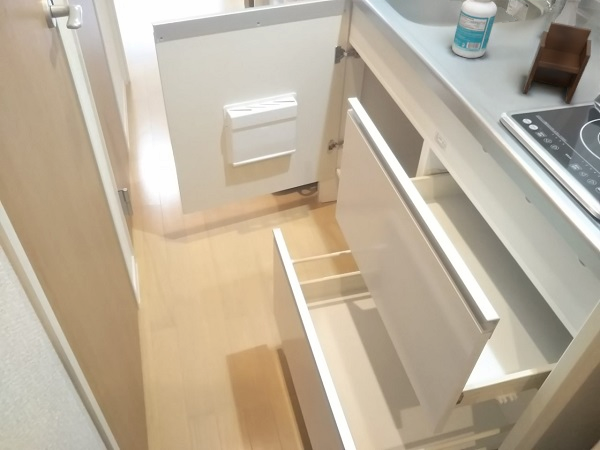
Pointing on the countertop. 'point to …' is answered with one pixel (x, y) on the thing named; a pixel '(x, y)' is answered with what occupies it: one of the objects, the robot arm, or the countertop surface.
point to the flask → (568, 13)
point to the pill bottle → (474, 28)
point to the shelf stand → (561, 57)
